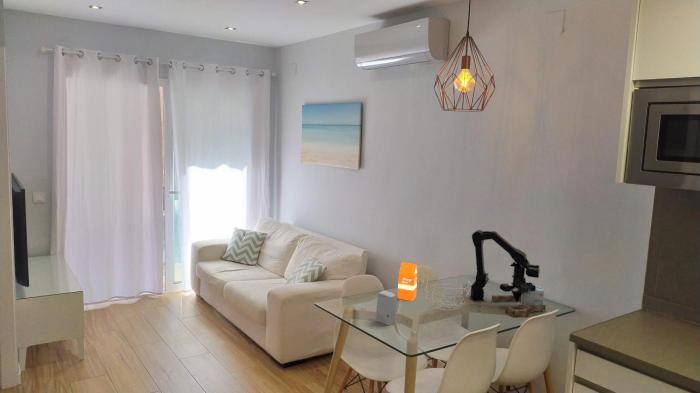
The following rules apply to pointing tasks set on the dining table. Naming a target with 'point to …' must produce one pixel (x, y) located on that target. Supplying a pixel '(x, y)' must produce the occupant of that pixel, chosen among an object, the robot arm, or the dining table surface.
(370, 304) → the dining table surface
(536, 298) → the light bulb box
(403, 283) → the orange juice
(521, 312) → the corridor
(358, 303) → the dining table surface
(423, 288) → the dining table surface
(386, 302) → the skincare box
